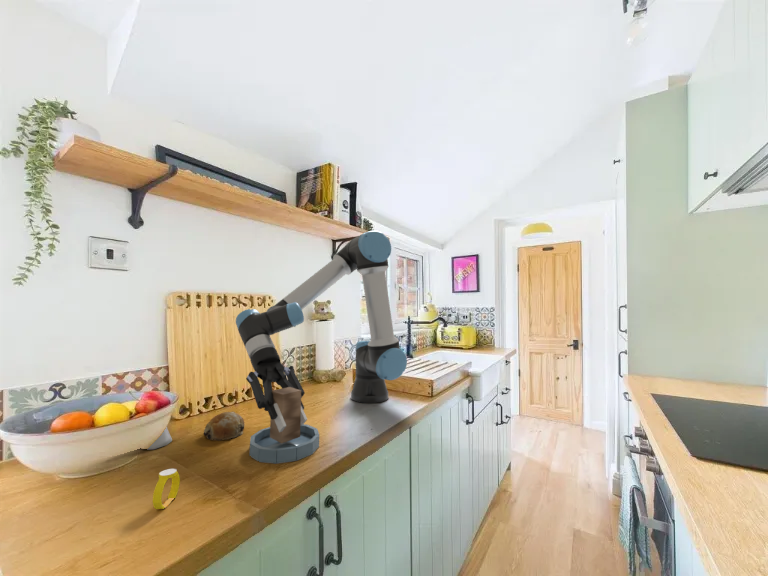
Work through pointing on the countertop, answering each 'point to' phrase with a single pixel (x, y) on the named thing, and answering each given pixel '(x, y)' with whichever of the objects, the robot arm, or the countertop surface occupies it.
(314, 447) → the dish
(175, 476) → the watch
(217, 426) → the bread roll
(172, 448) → the countertop surface
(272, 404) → the robot arm
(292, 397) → the box
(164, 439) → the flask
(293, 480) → the countertop surface
